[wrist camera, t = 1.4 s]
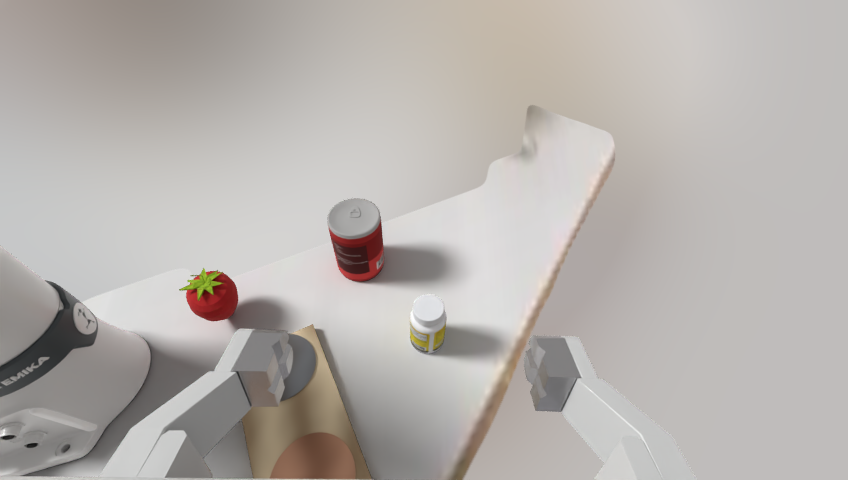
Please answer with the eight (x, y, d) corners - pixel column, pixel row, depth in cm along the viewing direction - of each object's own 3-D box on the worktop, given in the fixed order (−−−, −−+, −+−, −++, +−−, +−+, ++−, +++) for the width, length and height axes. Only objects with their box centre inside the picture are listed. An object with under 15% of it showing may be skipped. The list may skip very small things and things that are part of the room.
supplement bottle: (440, 321, 53) (444, 288, 46) (446, 351, 49) (451, 320, 43) (407, 326, 52) (407, 293, 46) (412, 356, 49) (412, 326, 43)
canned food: (376, 240, 63) (371, 192, 55) (391, 274, 58) (388, 227, 50) (333, 253, 61) (321, 205, 53) (345, 289, 56) (334, 242, 48)
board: (273, 563, 34) (268, 562, 33) (232, 360, 48) (228, 355, 47) (378, 496, 38) (377, 494, 37) (313, 325, 52) (311, 320, 50)
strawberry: (213, 346, 49) (178, 306, 42) (199, 307, 53) (165, 265, 46) (256, 323, 52) (230, 283, 44) (240, 288, 56) (214, 245, 48)
